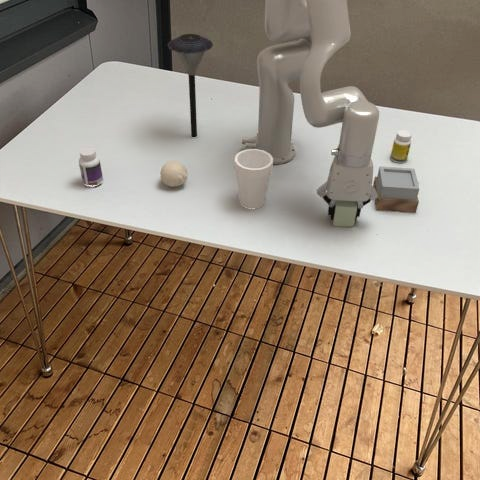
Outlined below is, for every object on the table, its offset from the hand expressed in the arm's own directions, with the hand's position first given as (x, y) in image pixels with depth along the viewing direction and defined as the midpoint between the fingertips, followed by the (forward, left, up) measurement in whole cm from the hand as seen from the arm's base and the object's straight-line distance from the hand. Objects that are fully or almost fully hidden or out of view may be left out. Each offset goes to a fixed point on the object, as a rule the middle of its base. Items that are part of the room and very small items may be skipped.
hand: (343, 216), depth 142 cm
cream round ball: (-44, +12, -1) cm, 45 cm away
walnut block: (+14, +10, -2) cm, 17 cm away
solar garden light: (-42, +37, -1) cm, 56 cm away
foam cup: (-23, +6, -1) cm, 24 cm away
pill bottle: (-66, +11, -1) cm, 67 cm away
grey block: (+14, +10, +2) cm, 17 cm away
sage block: (0, 0, -1) cm, 1 cm away
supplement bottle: (+18, +30, -1) cm, 35 cm away
